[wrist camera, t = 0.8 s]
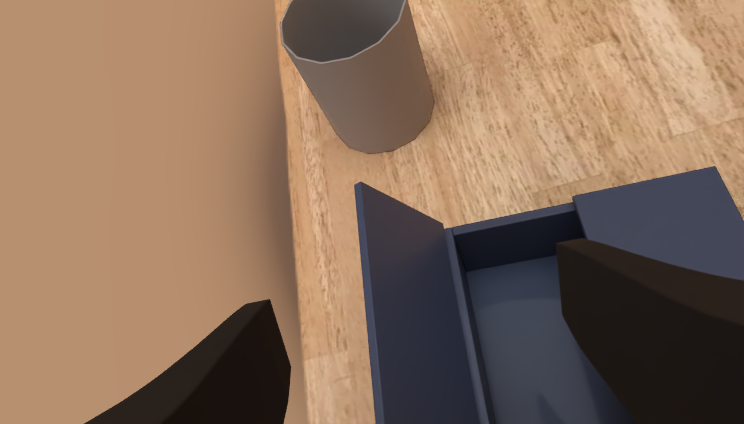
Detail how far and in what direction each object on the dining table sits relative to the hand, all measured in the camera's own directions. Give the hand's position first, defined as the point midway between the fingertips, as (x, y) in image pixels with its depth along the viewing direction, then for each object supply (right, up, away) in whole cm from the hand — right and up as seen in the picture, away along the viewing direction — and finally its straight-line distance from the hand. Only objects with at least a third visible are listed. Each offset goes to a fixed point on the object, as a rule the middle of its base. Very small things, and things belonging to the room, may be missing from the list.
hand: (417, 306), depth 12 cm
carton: (+11, -6, +15) cm, 19 cm away
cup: (0, +11, +27) cm, 29 cm away
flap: (+1, -3, +8) cm, 8 cm away
